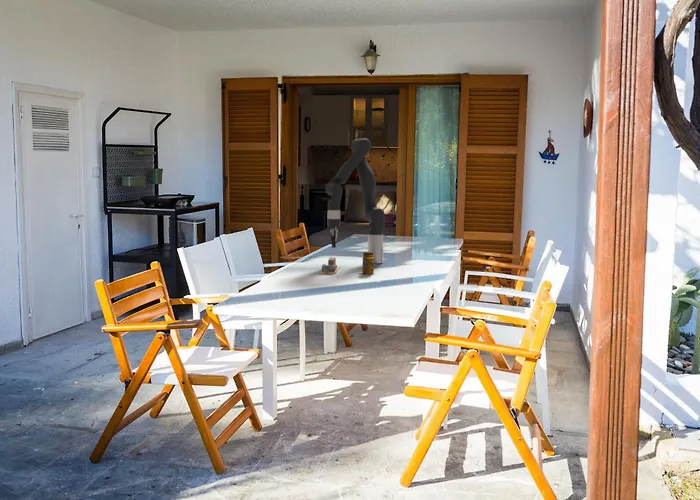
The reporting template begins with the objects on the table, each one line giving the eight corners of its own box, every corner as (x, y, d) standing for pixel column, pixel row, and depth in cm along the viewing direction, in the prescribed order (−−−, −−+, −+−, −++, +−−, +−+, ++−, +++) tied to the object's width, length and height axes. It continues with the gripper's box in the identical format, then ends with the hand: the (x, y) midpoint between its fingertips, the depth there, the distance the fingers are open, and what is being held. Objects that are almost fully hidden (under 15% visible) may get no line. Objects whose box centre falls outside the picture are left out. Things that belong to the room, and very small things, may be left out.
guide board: (340, 267, 402) (340, 260, 401) (335, 273, 380) (335, 265, 379) (326, 267, 402) (326, 259, 402) (320, 273, 381) (320, 265, 380)
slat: (333, 268, 392) (333, 260, 391) (328, 268, 392) (328, 259, 391) (335, 266, 401) (335, 257, 401) (330, 266, 402) (330, 257, 401)
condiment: (376, 274, 379) (376, 252, 377) (364, 275, 374) (364, 253, 373) (369, 272, 385) (369, 251, 383) (356, 273, 380) (356, 252, 379)
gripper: (339, 218, 396) (339, 249, 398) (341, 217, 409) (341, 246, 411) (325, 218, 397) (326, 248, 399) (329, 216, 410) (329, 246, 412)
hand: (333, 247), depth 405 cm, fingers closed
